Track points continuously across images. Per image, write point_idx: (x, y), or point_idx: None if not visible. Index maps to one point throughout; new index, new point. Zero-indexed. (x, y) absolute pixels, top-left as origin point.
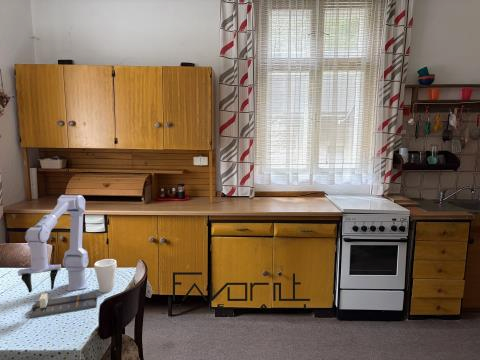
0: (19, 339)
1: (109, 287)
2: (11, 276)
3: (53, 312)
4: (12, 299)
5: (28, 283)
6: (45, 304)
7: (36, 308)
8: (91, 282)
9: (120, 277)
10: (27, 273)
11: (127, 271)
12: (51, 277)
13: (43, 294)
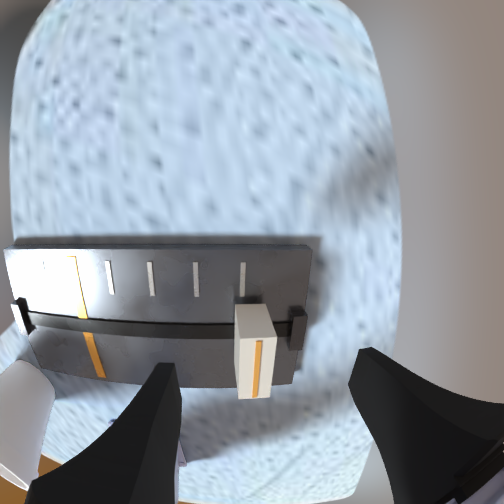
0: (322, 45)
1: (7, 369)
2: (346, 483)
3: (185, 247)
4: None
5: (431, 400)
6: (237, 313)
7: (285, 317)
8: None
9: None
10: (467, 498)
11: None
12: (118, 479)
13: (258, 389)
